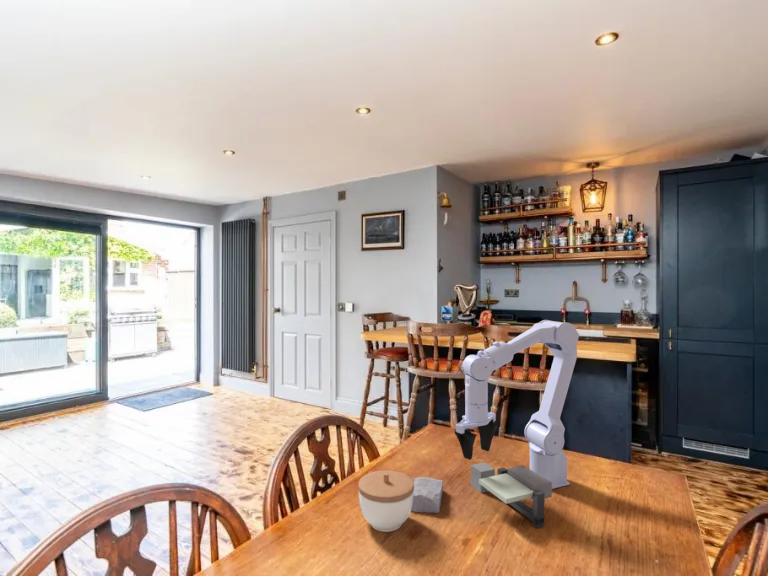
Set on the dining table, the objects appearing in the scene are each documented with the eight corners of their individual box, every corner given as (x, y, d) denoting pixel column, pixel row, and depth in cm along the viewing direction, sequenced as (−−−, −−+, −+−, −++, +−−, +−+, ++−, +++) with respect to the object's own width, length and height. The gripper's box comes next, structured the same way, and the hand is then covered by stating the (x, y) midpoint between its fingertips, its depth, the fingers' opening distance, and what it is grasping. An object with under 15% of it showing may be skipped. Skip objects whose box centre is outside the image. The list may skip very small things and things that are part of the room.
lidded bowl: (425, 522, 93) (425, 474, 93) (386, 547, 84) (386, 494, 84) (385, 501, 102) (385, 457, 102) (346, 522, 93) (346, 474, 93)
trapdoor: (521, 478, 105) (521, 464, 105) (553, 497, 95) (553, 483, 95) (478, 487, 100) (478, 473, 100) (506, 509, 90) (506, 494, 90)
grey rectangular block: (484, 482, 112) (484, 462, 112) (494, 489, 108) (494, 469, 108) (471, 485, 111) (471, 465, 111) (480, 493, 107) (480, 472, 107)
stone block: (401, 518, 98) (442, 514, 96) (397, 498, 99) (438, 494, 97) (408, 495, 110) (445, 491, 108) (405, 477, 110) (442, 473, 108)
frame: (503, 496, 105) (504, 467, 105) (544, 526, 92) (544, 493, 92) (497, 498, 104) (497, 468, 104) (537, 528, 91) (537, 494, 91)
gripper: (480, 393, 115) (480, 442, 115) (446, 404, 105) (446, 457, 106) (502, 399, 110) (502, 449, 110) (468, 410, 100) (469, 466, 100)
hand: (476, 454), depth 107 cm, fingers open, 7 cm apart
